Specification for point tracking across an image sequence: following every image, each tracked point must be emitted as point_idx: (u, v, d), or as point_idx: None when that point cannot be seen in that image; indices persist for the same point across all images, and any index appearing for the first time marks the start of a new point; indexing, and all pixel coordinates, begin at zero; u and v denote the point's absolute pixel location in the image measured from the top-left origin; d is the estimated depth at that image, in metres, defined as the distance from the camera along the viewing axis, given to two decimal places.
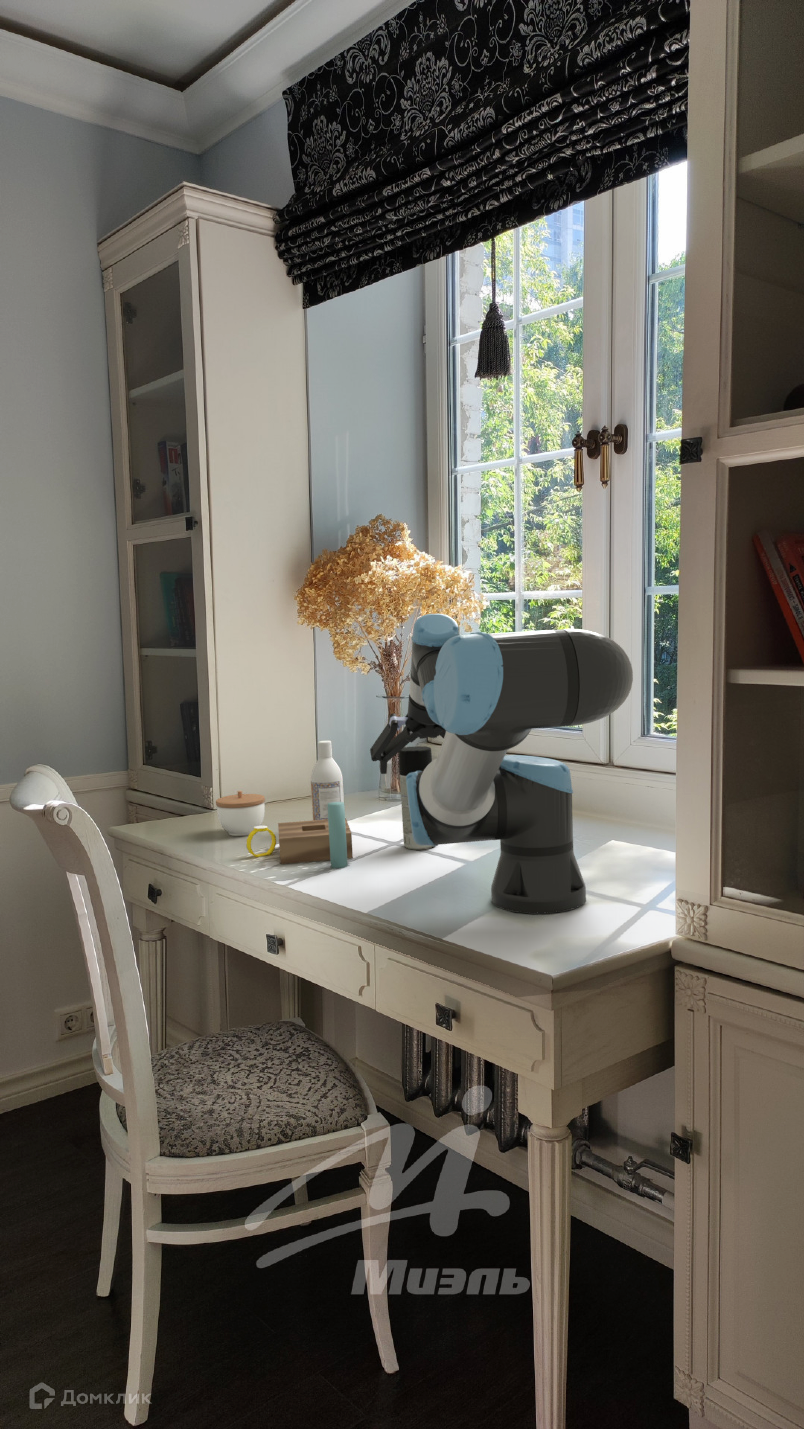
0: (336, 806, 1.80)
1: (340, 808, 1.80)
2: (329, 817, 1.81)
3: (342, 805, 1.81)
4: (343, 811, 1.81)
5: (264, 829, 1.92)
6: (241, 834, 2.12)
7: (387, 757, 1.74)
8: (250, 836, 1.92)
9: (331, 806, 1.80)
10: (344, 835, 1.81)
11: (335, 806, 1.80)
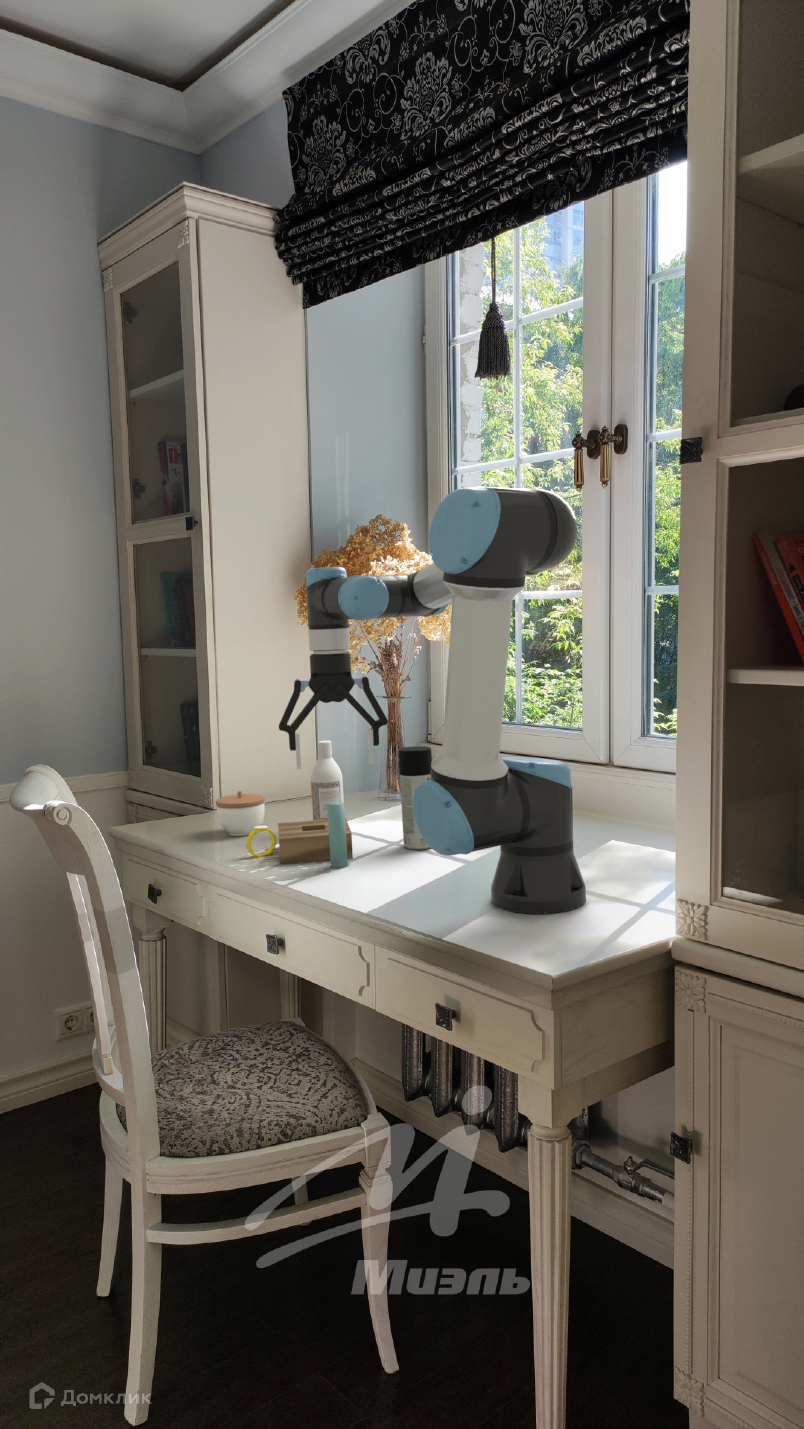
0: (336, 806, 1.80)
1: (340, 808, 1.80)
2: (329, 817, 1.81)
3: (342, 805, 1.81)
4: (343, 811, 1.81)
5: (264, 829, 1.92)
6: (241, 834, 2.12)
7: (294, 726, 1.78)
8: (250, 836, 1.92)
9: (331, 806, 1.80)
10: (344, 835, 1.81)
11: (335, 806, 1.80)
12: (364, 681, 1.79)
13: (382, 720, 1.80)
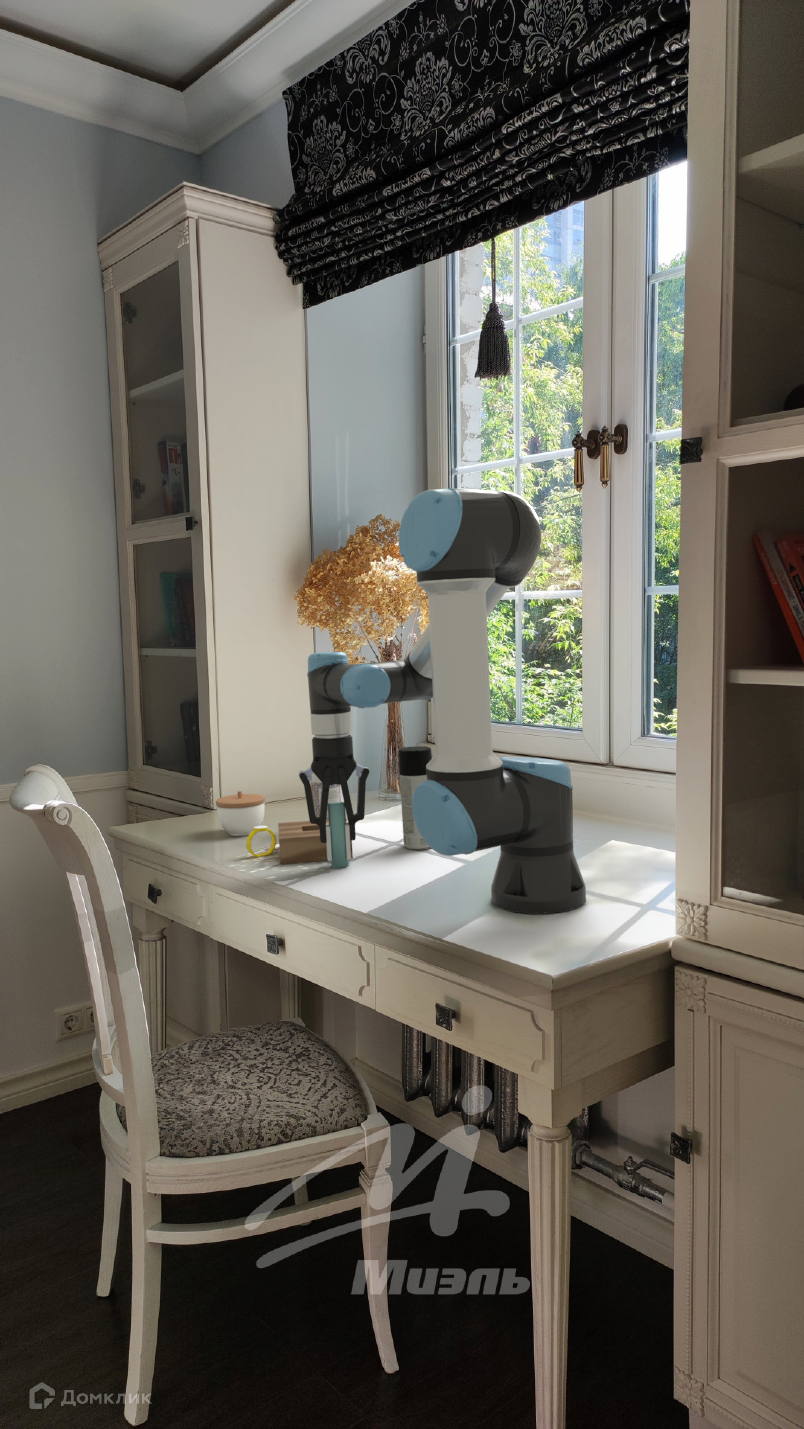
0: (337, 806, 1.80)
1: (341, 808, 1.80)
2: (330, 817, 1.81)
3: (343, 805, 1.81)
4: (344, 811, 1.81)
5: (264, 829, 1.92)
6: (241, 834, 2.12)
7: (322, 818, 1.80)
8: (250, 836, 1.92)
9: (332, 806, 1.80)
10: (345, 835, 1.81)
11: (336, 806, 1.80)
12: (364, 772, 1.80)
13: (359, 814, 1.81)
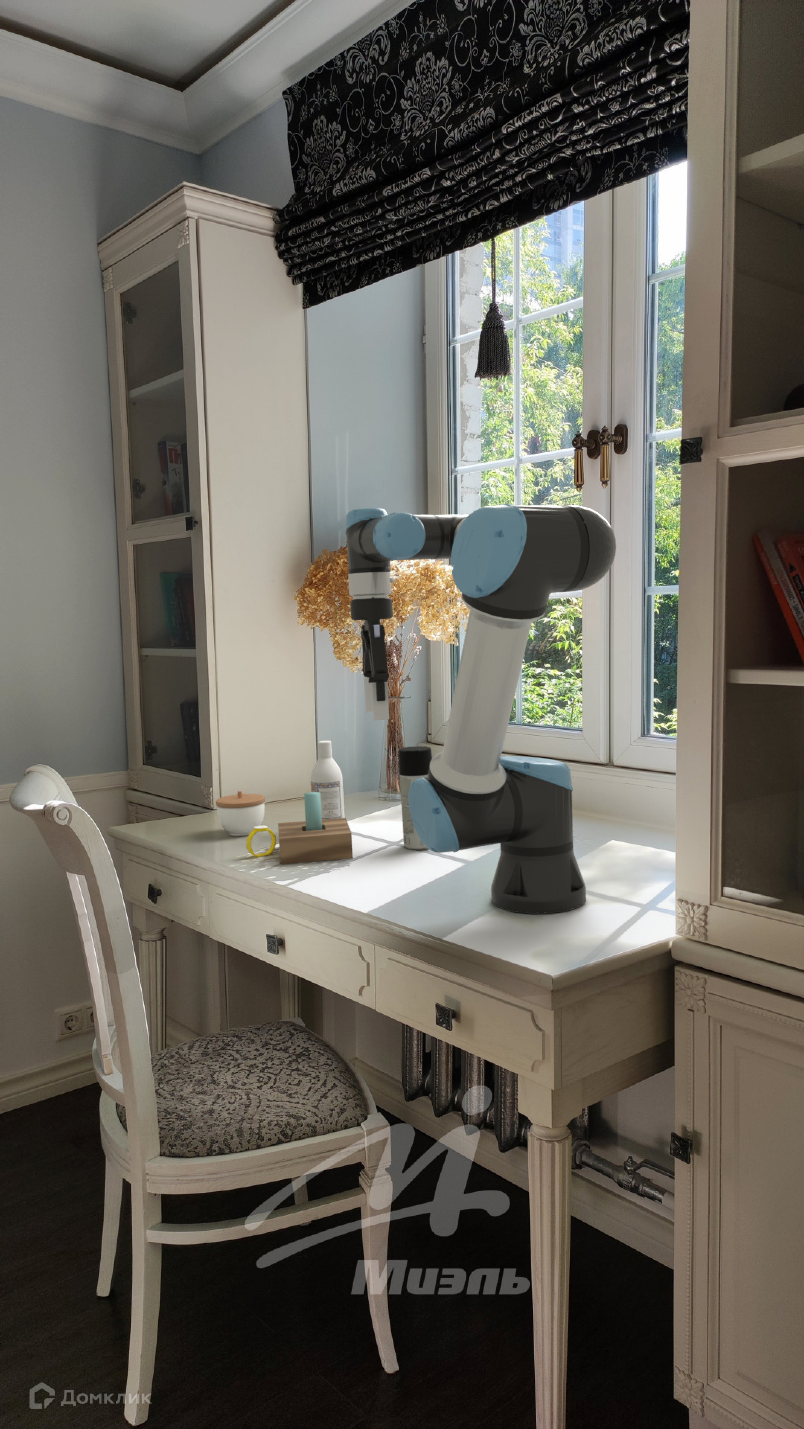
0: (304, 795, 1.93)
1: (305, 798, 1.92)
2: None
3: (307, 796, 1.92)
4: (308, 802, 1.92)
5: (264, 829, 1.92)
6: (241, 834, 2.12)
7: (364, 669, 1.81)
8: (250, 836, 1.92)
9: None
10: (309, 824, 1.92)
11: (304, 794, 1.93)
12: (369, 630, 1.67)
13: (373, 674, 1.65)
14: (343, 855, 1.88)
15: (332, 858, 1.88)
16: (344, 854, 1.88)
